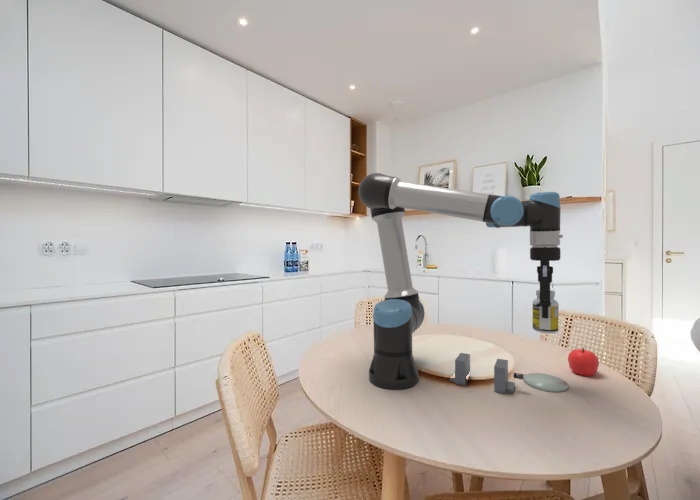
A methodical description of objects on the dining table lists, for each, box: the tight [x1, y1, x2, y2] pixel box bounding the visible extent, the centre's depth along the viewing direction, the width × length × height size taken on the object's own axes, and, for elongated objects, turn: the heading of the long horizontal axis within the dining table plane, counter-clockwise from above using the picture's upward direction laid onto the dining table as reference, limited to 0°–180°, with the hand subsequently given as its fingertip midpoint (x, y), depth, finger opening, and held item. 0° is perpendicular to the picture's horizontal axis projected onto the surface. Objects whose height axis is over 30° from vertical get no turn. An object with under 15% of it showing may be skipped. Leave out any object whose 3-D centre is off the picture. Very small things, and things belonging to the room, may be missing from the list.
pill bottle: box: [532, 289, 560, 334], centre depth 95 cm, size 6×6×12 cm
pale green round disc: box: [523, 372, 569, 393], centre depth 96 cm, size 11×11×1 cm
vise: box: [449, 352, 525, 395], centre depth 96 cm, size 19×7×7 cm, turn 59°
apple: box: [567, 347, 600, 377], centre depth 102 cm, size 8×8×8 cm
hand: (545, 326), depth 95 cm, fingers closed on pill bottle, 6 cm apart
